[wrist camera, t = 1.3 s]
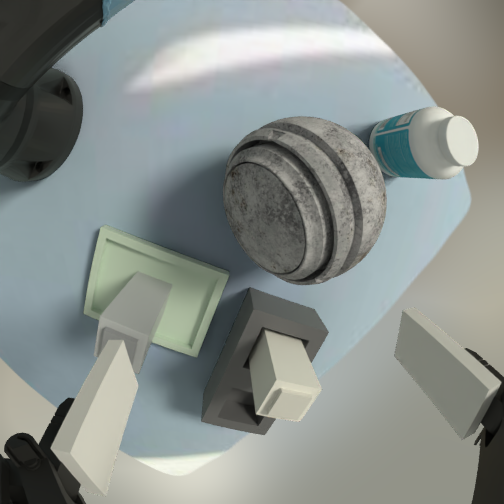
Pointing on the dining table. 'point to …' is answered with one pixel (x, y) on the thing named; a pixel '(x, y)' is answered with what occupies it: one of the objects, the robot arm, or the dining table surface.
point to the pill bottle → (424, 144)
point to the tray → (163, 268)
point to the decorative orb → (304, 199)
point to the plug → (134, 317)
